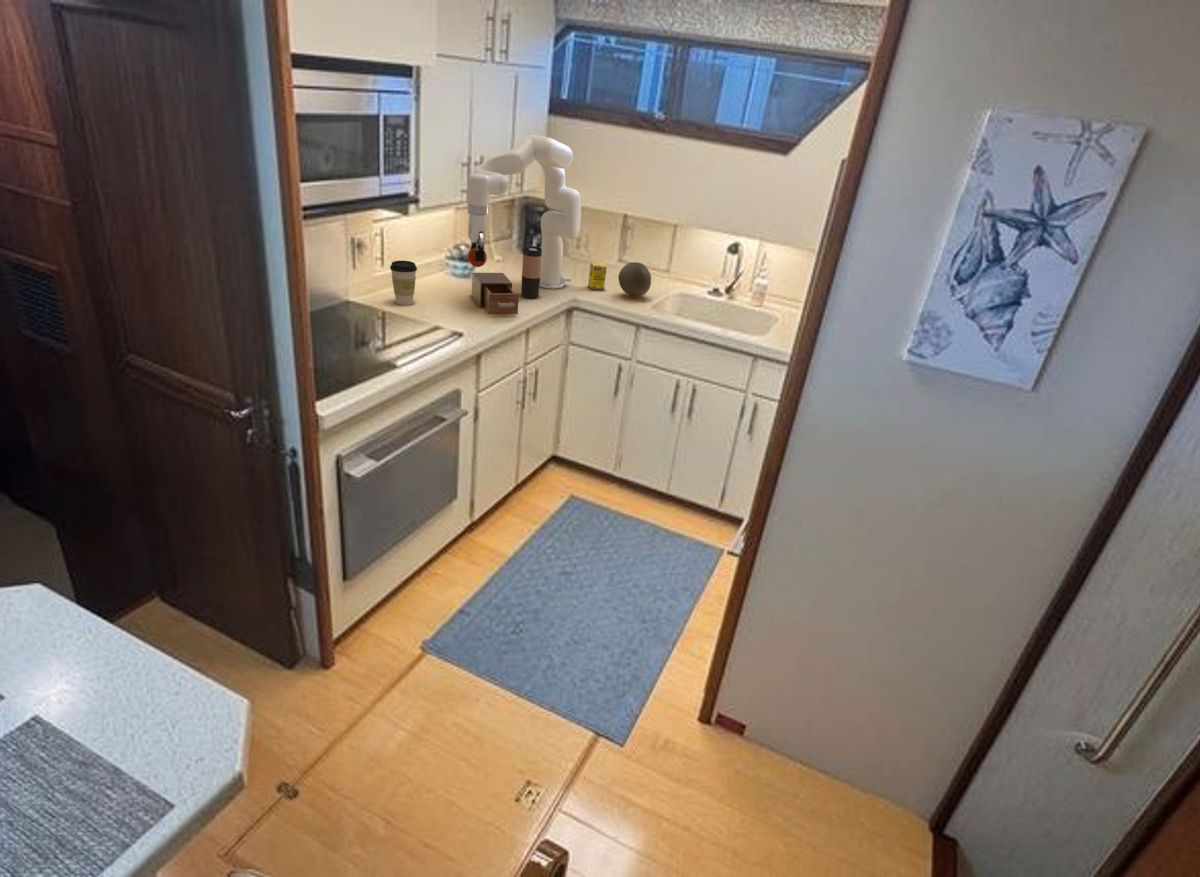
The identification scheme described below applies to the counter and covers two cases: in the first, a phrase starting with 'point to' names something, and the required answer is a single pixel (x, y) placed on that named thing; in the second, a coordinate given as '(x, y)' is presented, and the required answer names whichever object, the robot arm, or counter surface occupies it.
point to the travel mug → (531, 272)
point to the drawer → (500, 299)
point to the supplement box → (597, 276)
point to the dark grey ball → (635, 279)
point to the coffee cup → (403, 281)
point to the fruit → (472, 258)
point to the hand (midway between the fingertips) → (477, 258)
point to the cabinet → (486, 279)
